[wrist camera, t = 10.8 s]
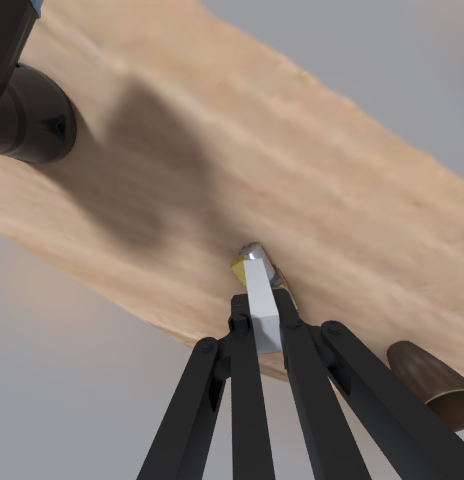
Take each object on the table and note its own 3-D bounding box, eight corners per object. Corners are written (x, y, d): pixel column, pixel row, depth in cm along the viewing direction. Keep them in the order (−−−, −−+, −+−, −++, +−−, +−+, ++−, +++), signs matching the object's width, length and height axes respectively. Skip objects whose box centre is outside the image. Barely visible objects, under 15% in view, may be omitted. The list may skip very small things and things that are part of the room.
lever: (294, 313, 45) (296, 318, 44) (275, 323, 46) (277, 329, 45) (246, 252, 40) (247, 257, 38) (226, 266, 41) (226, 270, 39)
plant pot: (372, 373, 66) (414, 439, 51) (371, 336, 61) (417, 398, 46) (425, 363, 65) (484, 428, 50) (429, 324, 59) (496, 384, 44)
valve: (234, 251, 50) (235, 272, 42) (262, 237, 49) (269, 256, 41) (278, 324, 58) (287, 354, 50) (303, 314, 57) (316, 343, 49)
